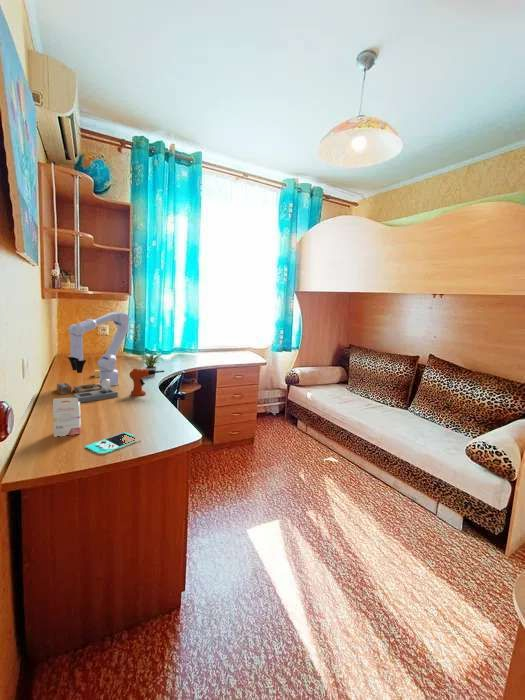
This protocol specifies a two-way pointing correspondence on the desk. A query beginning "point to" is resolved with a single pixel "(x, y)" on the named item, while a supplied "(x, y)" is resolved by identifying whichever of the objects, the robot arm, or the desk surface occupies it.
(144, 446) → the desk surface
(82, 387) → the socket block
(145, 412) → the desk surface
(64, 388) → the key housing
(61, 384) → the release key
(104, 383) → the shiny metal cylinder
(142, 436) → the desk surface
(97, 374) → the rubber stamp
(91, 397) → the rack
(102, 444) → the handheld game console
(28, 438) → the desk surface
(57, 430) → the ink cartridge box
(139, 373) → the toy drill
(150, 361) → the house plant
